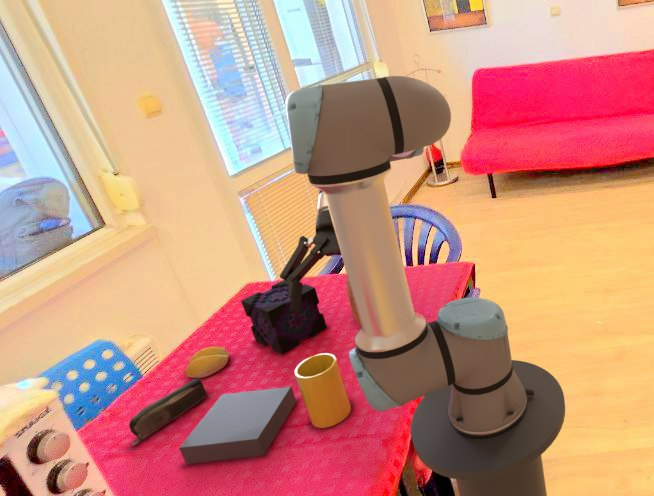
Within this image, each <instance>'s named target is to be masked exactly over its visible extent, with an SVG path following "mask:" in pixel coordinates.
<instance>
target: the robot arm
mask: <svg viewBox="0 0 654 496" xmlns="http://www.w3.org/2000/svg"><path fill="white" fill-rule="evenodd" d="M285 108H286V118H287V119H286V120H287V126H288V133H289V140H290V147H291V154H292V159H293V160H292V161H293V167H294V172H295V173H296V174H301V175H306V174H307V178H308V181H309V184H310V186H312V187H313V188H315V189H317V190H319V191H318V198H317V199H318V200H317V207H316V208H317V209H316V212H317V214H316V219H315V235H314V237H306V236H305V235H301V236H300V237H299V240H298V243H297V246H296V248H295V250H294V251H293V252H292V255H291V256H290V258H289V260H288V261H287V263H286V264H285V266H284V267H283V269H282V271H281V273H280V274H279V278H280V279H282V281H283V280H285V281H288V282H289V285H288V296H289V297H291V303H290V312H293V313H295V314H300V307H301V297H302V287H303V285H304V283H303V282H301V280H302V279H303V278H305V276H306V275H307V274H308V273H309V271H311V270H312V268H313V267H314V266H315V265H316V264H317V263H318V262H319V261H320V260H321V259H323V258H324V257H332V256H341V258H342V262H343V266H344V269H345V273H346V278H347V277H348V280H349V284H350V287H351V291H352V295H353V298H354V302H355V305H356V309H357V313H358V316H359V320H360V324H361V326H360V329H359V330H358V332H357V333H356V335H355V338H354V343H355V344H354V345H355V346H354V347H353V348H352V349H350V350H349V352H348V356H349V360H350V364H351V367H352V369H353V372H354V374H355V376H356V379H357V382H358V385H359V387H360V389H361V391H362V393H363V395H364V397H365V399H366V401H367V403H368V404H369V406H370V407H371V409H372V410H374V411H375V412H379V413H380V412H381V413H383V412H386V411H389V410H391V409H394V408H397V407H403V406H404V405H405V404H408V403H410V402H413V401H415V400H417V399H420V398H423V397H424V396H425V395H427V394H429V393H432V392H434V391H437V390H439V389H442V388H444V387H447V386H449V385H451V384H452V388H451V392H450V396H449V397H450V400H448V401H449V405H448V415H449V420H450V423H451V426H452V427H453V429H454V430H455V431H456V432H457V433H459V434H461V435H463V436H465V437H468V438H474V439H484V438H491V437H495V436H498V435H500V434H503V433H505V432H507V431H508V430H510V429H512V428H513V427H514V426H516V425H517V424H518V423H519V422H520V421H521V419H522V418H523V416H524V415H525V413H526V410H527V404H528V403H527V395H531V396H533V395H534V391H532V390H527V389H524V387H523V385H522V383H521V381H520V380H519V378H518V376H517V375H516V373H515V371H514V370H513V366H512V360H513V359H512V353H511V347H510V346H511V345H510V340H509V327H508V324H507V320H506V317H505V313H504V311H503V309H502V307H501V306H500V305H499V304H497V302H494V301H493V300H491V299H487V298H481V297H463V298H457V299H454V300H451V301H449V302H447V303H445V304H444V306H442V307H441V308H440V309H439V311H438V313H437V314H438V315H437V317H436V318H437V319H436V320H433V321H431V322H427V320H426V317H425V316H424V315H423V314H420V313H419V312H417V311H415V309H414V304H413V300H412V295H411V291H410V287H409V283H408V279H407V275H406V270H405V266H404V262H403V258H402V253H401V249H400V245H399V240H398V236H397V232H396V229H395V223H394V220H393V216H392V215H393V214H392V211H391V207H390V202H389V198H388V194H387V189H386V185H385V179H386V177H387V176H388V174H389V173H390V172H391V171H392V164H391V162H397V161H402V160H405V159H406V160H409V159H412V158H415V157H419V156H422V155H423V153H424V152H425V151H424V148H425V147H429V146H431V145H434V144H436V143H437V142H438V141H441V140H442V139H443V138H444V136H445V135H446V134H447V133H448V131H449V128H450V126H451V121H452V113H451V107H450V105H449V103H448V100H447V99H446V98H445V96H444V95H443V93H442V92H440V91H439V90H438V89H437V88H435V87H434V86H433V85H431V84H429V83H427V82H425V81H424V80H421V79H418V78H414V77H411V76H410V77H409V76H403V75H390V76H383V77H377V78H370V79H361V80H351V81H345V82H336V83H329V84H318V85H314V86H309V87H305V88H300V89H295V90H292V91H291V92H289V94H288V95H287V96H286V97H285ZM312 245H314V246H313V247H312ZM311 248H312V249H311ZM310 249H311V250H310ZM308 252H309V253H308ZM307 254H308V255H307ZM306 255H307V256H306Z"/></svg>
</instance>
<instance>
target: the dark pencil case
mask: <svg viewBox="0 0 654 496" xmlns="http://www.w3.org/2000/svg"><path fill="white" fill-rule="evenodd" d="M207 395H208V394H207V391H206V388H205V386H204V383H203V382H202V380H201V378H192V380H190V381H188V382H187V383H185V384H183V385H182V386H180V387H179V388H176V389H175V390H173V391H171V392H170V393H168V394H167V395H165V396H163V397H162V398H159V399H158V400H155V401H154V402H152V403H150V404H148V405H147V406H145V407H143V408H142V409H141V410H140V411H139V412H138V413H137V414H135V415H134V416H133V417H132V418H130V421H129V424H128V425H129V429H130V431H131V433H132V434H133V435H134V436H135V437H136V440H134V441H133V442H131V443H130V446H131V447H135V446H136V445H137V444H139V443H140V442H141V441H142V442H143V440H145V439H146V438H148V437H149V436H150V435H152V434H154V433H155V432H157V431H158V430H160V429H161V428H163V427H164V426H166V425H168V424H169V423H170V422H172V421H173V420H175V419H177V418H178V417H180V416H181V415H183V414H185V413H186V412H187V411H189V410H191V409H192V408H194V407H195V406H197V405H198V404H200V403H201V402H203V400H205V399H206V397H207Z"/></svg>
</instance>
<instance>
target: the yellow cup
mask: <svg viewBox="0 0 654 496" xmlns="http://www.w3.org/2000/svg"><path fill="white" fill-rule="evenodd" d="M294 378H295V380H296V382H297V385H298V388H299V391H300V394H301V397H302V400H303V403H304V406H305V409H306V411H307V414H308V417H309V420H310V422H311V425H312V426H314V428H319V429H325V428H330V427H333V426H335V425H337V424H339V423H341V422H342V421H343V420H345V419H346V418H347V417H348V416H349V415H350V413H351V410H352V405H351V402H350V398H349V395H348V392H347V388H346V384H345V382H344V378H343V374H342V371H341V369H340V365H339V362H338V359H337V356H336V355H334V353H328V352H324V353H323V352H322V353H317V354H315V355H311V356H309V357H307V358H305V359H303V360H302V361H301V362H300V363H299V364H297V366H296V367H295V369H294Z"/></svg>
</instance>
